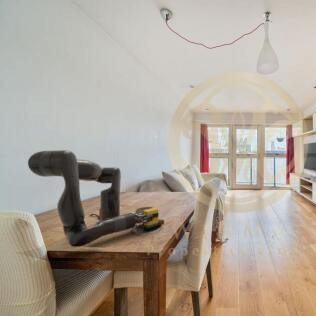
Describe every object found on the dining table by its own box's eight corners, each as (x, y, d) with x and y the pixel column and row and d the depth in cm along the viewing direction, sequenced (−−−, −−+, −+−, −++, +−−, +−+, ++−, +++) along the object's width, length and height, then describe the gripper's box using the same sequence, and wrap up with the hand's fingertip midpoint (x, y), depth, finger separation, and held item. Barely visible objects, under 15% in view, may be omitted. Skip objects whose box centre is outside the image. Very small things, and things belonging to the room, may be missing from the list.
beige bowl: (146, 223, 106) (146, 211, 106) (131, 222, 108) (131, 210, 108) (156, 218, 116) (156, 207, 116) (143, 217, 118) (143, 206, 118)
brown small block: (155, 224, 102) (156, 221, 102) (159, 222, 105) (159, 219, 105) (160, 225, 101) (160, 221, 101) (164, 223, 104) (164, 219, 104)
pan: (115, 231, 95) (115, 228, 95) (137, 222, 108) (137, 219, 108) (148, 236, 89) (148, 233, 89) (166, 226, 103) (166, 223, 103)
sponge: (143, 226, 98) (143, 210, 98) (154, 223, 103) (154, 207, 103) (147, 228, 96) (147, 211, 95) (158, 225, 100) (158, 209, 100)
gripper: (128, 218, 83) (162, 209, 97) (116, 212, 92) (149, 205, 106) (128, 234, 83) (162, 223, 97) (116, 226, 92) (149, 217, 106)
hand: (155, 213), depth 101 cm, fingers closed on sponge, 4 cm apart
